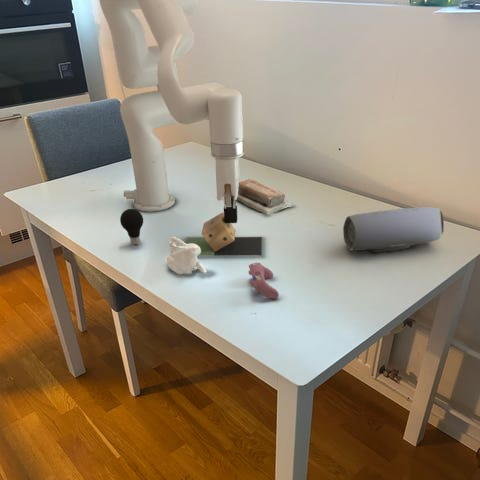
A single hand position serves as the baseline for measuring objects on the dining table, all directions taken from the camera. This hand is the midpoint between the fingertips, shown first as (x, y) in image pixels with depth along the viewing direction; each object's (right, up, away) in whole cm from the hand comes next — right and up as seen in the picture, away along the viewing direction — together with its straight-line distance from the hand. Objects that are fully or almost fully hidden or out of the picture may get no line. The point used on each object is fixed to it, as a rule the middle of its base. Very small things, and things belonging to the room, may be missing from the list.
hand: (231, 221), depth 126 cm
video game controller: (+7, -18, -12) cm, 23 cm away
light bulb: (-26, -5, +8) cm, 27 cm away
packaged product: (+9, +11, +28) cm, 31 cm away
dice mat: (-2, -6, +5) cm, 8 cm away
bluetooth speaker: (+40, -6, +2) cm, 41 cm away
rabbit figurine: (-11, -13, -5) cm, 18 cm away
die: (-2, -4, +3) cm, 6 cm away
